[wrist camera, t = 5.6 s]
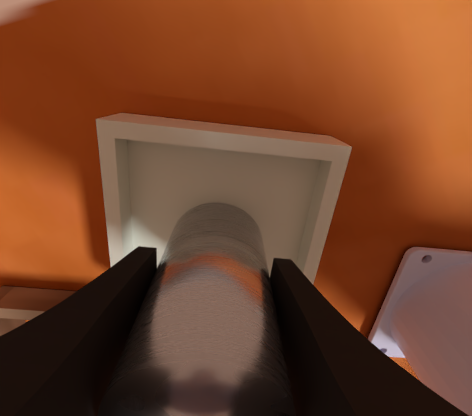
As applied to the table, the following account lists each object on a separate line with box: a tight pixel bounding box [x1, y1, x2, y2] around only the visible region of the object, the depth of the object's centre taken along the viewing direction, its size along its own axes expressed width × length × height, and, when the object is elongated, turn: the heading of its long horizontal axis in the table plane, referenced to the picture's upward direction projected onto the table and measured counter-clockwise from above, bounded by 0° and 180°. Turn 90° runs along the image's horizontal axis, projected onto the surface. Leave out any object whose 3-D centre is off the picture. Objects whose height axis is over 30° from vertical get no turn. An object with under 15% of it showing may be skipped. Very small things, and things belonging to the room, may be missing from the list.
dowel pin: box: [98, 202, 296, 416], centre depth 9 cm, size 4×4×7 cm
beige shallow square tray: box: [96, 113, 352, 284], centre depth 13 cm, size 9×9×2 cm
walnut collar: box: [0, 286, 77, 336], centre depth 16 cm, size 8×8×2 cm
